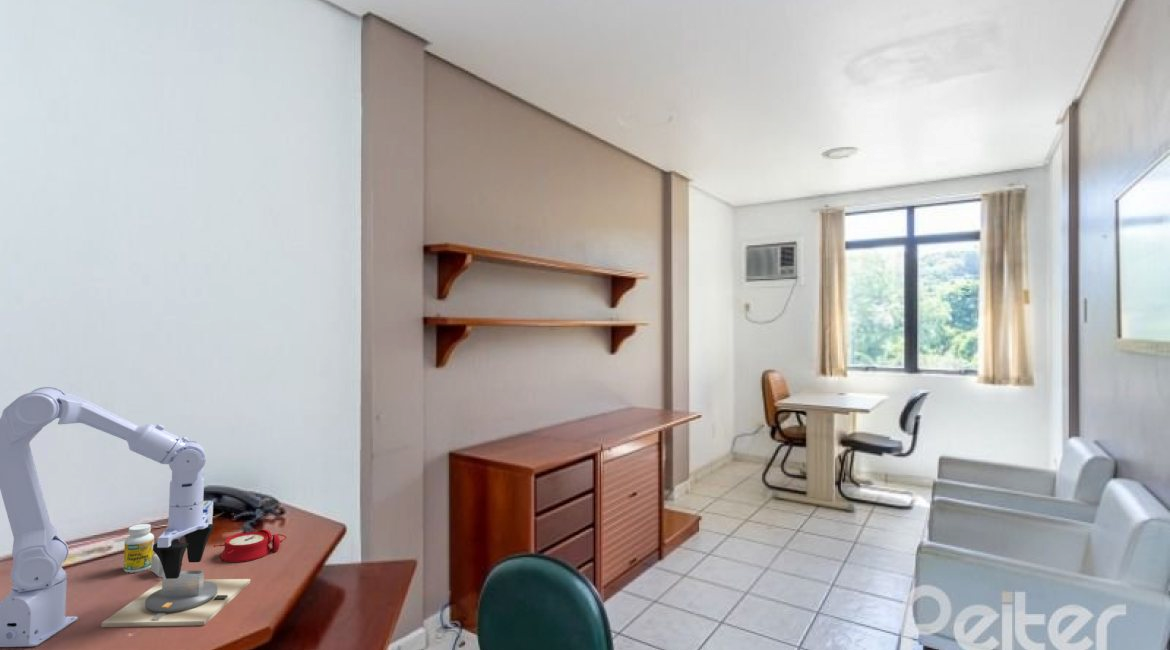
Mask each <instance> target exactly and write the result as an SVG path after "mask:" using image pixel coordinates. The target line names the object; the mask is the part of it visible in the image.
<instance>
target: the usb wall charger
mask: <svg viewBox="0 0 1170 650" xmlns="http://www.w3.org/2000/svg"><path fill="white" fill-rule="evenodd" d="M150 571H151V572H152V573H154V574H155V575H156V576H157V577H159V578H162V576H163V574H164V570H163V567H162V564H161V561H160V559H159V557H158V556H157V554H156V553H154V555H153V556H152V558H151V568H150Z"/></svg>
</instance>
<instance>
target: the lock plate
mask: <svg viewBox="0 0 1170 650" xmlns="http://www.w3.org/2000/svg"><path fill="white" fill-rule="evenodd" d="M204 581H208V582H212V583H215V584H216V585H217V587H218V591H217V594H216V596H215V597H214V598H213V599H211V600H210V601H208V602H206V603H204V604H202V605H199V606H197V607H194V608H191V609H187V610H183V611H178V612H170V613H157V612H151V611H149V610H147V609H146V608H145V601H146V599H147V597H148V596H150V595H151V594H152V593H154V592H156V591H158V590H160V589H162V580H161V581H159V582H158V583H156V584H155V585H154V586H152V587H150V588H149V589H147V591H145V592H143V593H142V594H141V595H139V596H138V597H136V598H135V599H133V600H132V601H131V602H129V603H128V604H126V605H125V606H124V607H122V608H121V609H119V610H118V611H116V612H114V613H113V614H112V615H111V616H109V617H108V618H106V619H105V620H103V621H102V622H101V625H100V626H101V628H120V627H124V628H125V627H126V628H128V627H129V628H130V627H131V628H133V627H134V628H135V627H177V626H178V627H179V626H181V627H182V626H184V627H185V626H187V627H189V626H205V625H206V624H207V623H208V622H209V621H211V620H212V619H213V618H214V617H215V616H216V615H217V614H218V613H219V612H220V611H222V610H223V609H224V608H225V607H226V606H227V605H228V604H229V603H230V602H231V601H232V600H234V598H235V597H237V595H239V594H240V593H241V592H242V591H244V589H246V587H247V586H248V585H249V584H250V583H251V578H228V579H227V578H223V579H222V578H220V579H219V578H215V579H213V578H212V579H210V578H208V579H205V578H204Z"/></svg>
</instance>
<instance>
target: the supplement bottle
mask: <svg viewBox="0 0 1170 650" xmlns="http://www.w3.org/2000/svg"><path fill="white" fill-rule="evenodd" d="M151 528H152V525H151V524H149V523H141V524H135V525H132V526H130V527H129V528H128V537H126V538H125V540H124V549H123V550H124V555H123V571H124V572H126V573H128V572H129V574H131V573H132V574H133V573H134V572H135V573H140V572H144V571H147V570H149V569H151V558H152V556H153V555H154V554H155V552H154V551H153V545H154V544H155V534H153V533H152V532H151V530H152V529H151ZM135 573H134V574H135Z"/></svg>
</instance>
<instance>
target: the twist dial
mask: <svg viewBox="0 0 1170 650" xmlns="http://www.w3.org/2000/svg"><path fill="white" fill-rule="evenodd" d="M204 576H205V570H181V571H180V575H179V577H178V578H176V579H166V577H165V574H163V576H162V577H161V578H162V580H161V581H162V589H160V590H158V591H156V592H154V593H152V594H151V595H150V596H148V597H147V599H146V601H145V608H146V609H147V610H149V611H151V612H157V613H170V612H178V611H183V610H187V609H191V608H194V607H197V606H199V605H202V604H204V603H206V602H208V601H210V600H211V599H213V598H214V597H215V596H216V594H217V591H218V587H217V585H216V584H215V583H212V582H208V581H204V579H205V577H204Z"/></svg>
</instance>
